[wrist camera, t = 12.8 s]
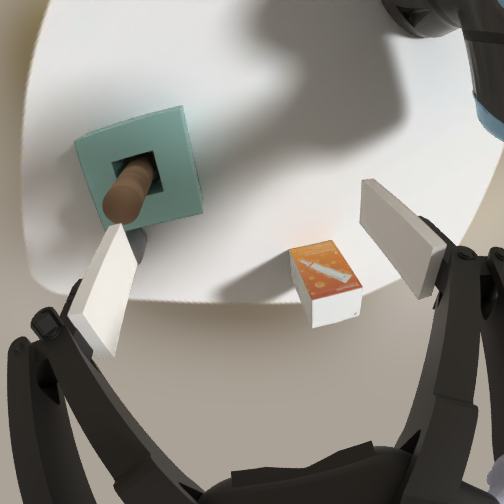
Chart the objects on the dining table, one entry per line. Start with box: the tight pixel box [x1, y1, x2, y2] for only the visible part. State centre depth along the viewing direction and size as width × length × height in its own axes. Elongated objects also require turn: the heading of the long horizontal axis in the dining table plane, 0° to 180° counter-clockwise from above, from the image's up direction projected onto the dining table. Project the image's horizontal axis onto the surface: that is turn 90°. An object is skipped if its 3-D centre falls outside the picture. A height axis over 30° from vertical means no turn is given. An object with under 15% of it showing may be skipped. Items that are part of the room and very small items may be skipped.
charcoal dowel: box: [125, 228, 147, 265], centre depth 42 cm, size 4×4×5 cm
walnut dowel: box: [102, 152, 158, 225], centre depth 32 cm, size 4×4×14 cm
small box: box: [289, 240, 363, 328], centre depth 47 cm, size 8×6×13 cm
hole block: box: [74, 105, 203, 232], centre depth 36 cm, size 14×14×5 cm
